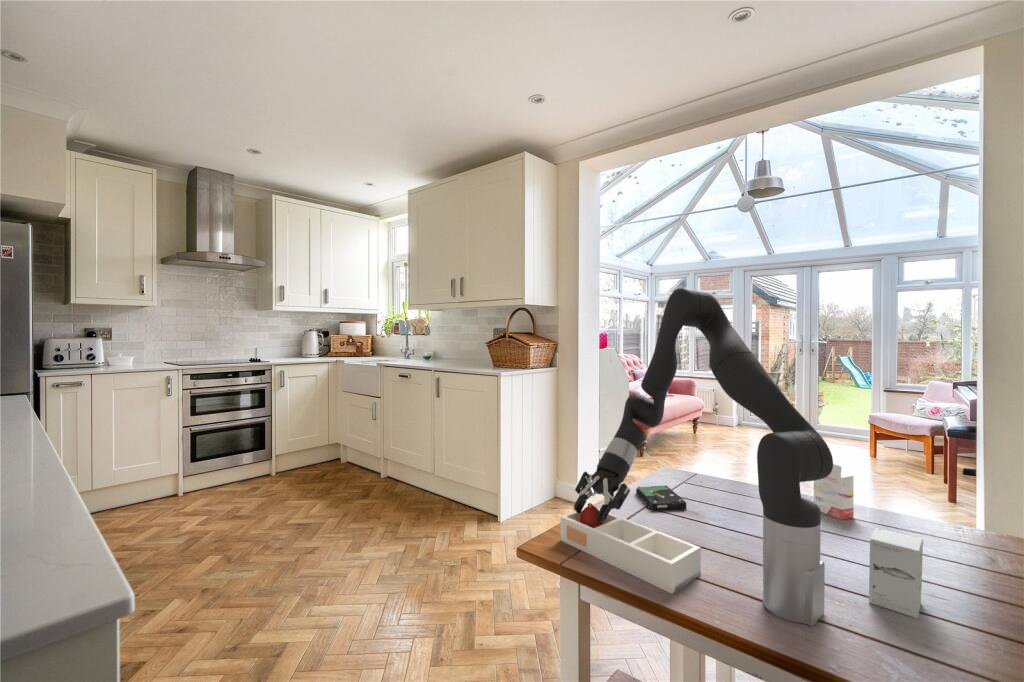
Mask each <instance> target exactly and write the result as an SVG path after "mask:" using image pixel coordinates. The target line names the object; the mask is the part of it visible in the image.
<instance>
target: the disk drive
mask: <svg viewBox="0 0 1024 682" xmlns="http://www.w3.org/2000/svg"><path fill="white" fill-rule="evenodd" d="M635 492H636V493H637V494H638V495H639V496H640V497H641V498H642V499H643V500H644V501H645V502H646V503H645V502H644V501H643V500H642V499H641V498H640V497H639V496H638V495H637V494H636V495H637V496H638V497H639V498H640V499H641V500H642V501H643V502H644V503H645V504H646V506H647V507H648V506H649V507H648V508H649V509H650V510H651V511H652V512H660V511H661V512H663V511H664V512H665V511H666V512H667V511H686V510H687V502H686V501H685V499H683V498H682V497H680V495H678V494H677V493H676V492H675V491H674V490H672V489H671V488H670V487H669V486H667V485H651V486H637V488H636V491H635Z"/></svg>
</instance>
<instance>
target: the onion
mask: <svg viewBox="0 0 1024 682" xmlns="http://www.w3.org/2000/svg"><path fill="white" fill-rule="evenodd" d="M586 505H587V506H585V507H586V508H585V507H584V508H585V509H584V510H583V511H582V512H581V514H580V523H582V524H585V525H587V526H589V527H592V528H596V527H598V526H601V525H603V522H599V521H598V520H597V518H596V516H597V514H598V512H599V510H598V509H599V508H598V507H596V506H595V505H594V504H592V503H591V502H589V503H587V504H586Z"/></svg>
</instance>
